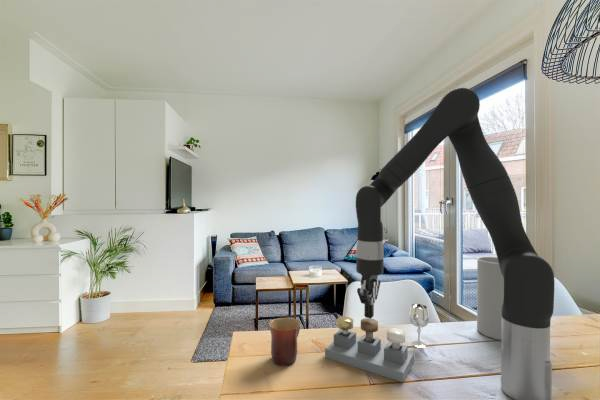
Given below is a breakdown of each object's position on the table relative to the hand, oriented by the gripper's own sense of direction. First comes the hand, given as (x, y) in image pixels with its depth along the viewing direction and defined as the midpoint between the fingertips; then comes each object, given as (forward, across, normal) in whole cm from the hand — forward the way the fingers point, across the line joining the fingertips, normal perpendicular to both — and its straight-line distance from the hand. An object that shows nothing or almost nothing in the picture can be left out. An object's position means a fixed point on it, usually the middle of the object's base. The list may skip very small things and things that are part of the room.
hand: (369, 316), depth 87 cm
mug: (+12, -12, +20) cm, 26 cm away
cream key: (+8, 0, -8) cm, 11 cm away
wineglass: (+12, +17, -10) cm, 23 cm away
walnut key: (+7, 0, 0) cm, 7 cm away
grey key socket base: (+12, 0, 0) cm, 12 cm away
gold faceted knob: (+8, 0, +7) cm, 11 cm away
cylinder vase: (+12, +40, -31) cm, 52 cm away
